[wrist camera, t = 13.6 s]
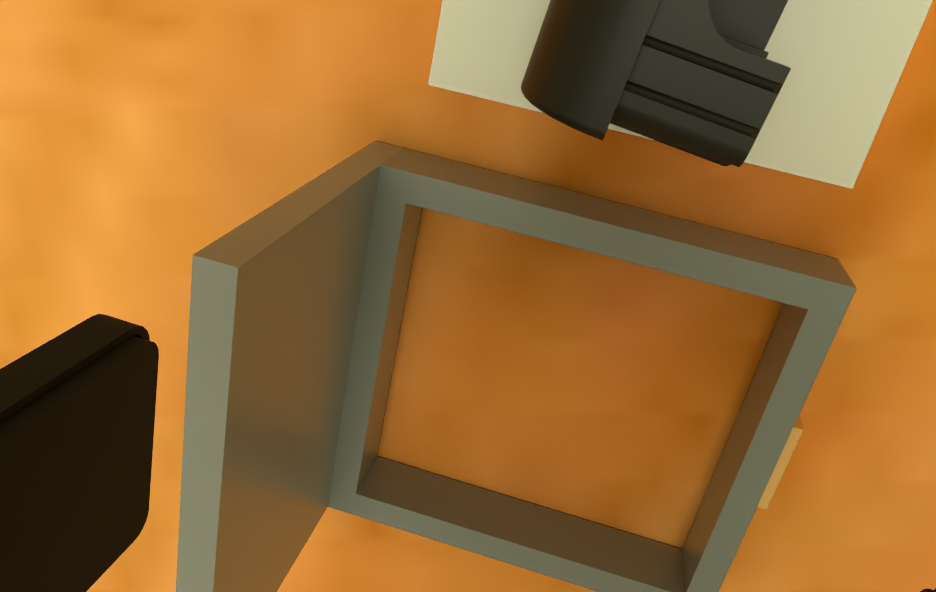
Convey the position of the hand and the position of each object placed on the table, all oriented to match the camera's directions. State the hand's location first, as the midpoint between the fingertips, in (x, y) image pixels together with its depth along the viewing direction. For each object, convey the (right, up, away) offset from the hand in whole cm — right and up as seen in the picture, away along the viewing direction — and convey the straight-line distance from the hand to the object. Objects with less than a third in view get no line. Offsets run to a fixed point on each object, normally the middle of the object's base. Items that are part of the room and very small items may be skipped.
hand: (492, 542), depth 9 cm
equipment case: (+4, -1, +25) cm, 25 cm away
